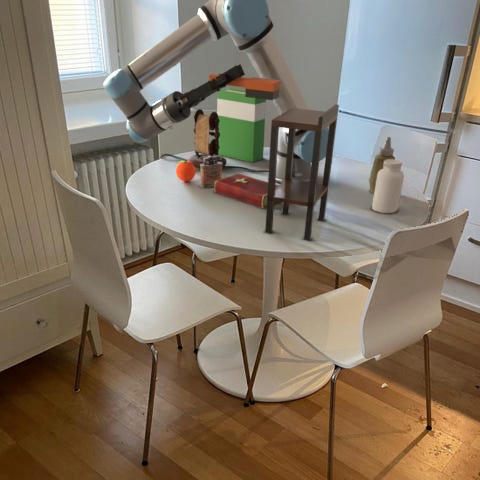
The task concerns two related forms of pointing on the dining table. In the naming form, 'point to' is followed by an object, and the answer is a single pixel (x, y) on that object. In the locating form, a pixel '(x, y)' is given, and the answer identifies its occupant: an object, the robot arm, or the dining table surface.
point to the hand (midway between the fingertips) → (240, 70)
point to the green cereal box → (240, 125)
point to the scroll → (205, 138)
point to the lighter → (210, 171)
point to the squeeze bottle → (380, 162)
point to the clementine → (185, 171)
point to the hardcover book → (244, 189)
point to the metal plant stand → (291, 188)
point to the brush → (256, 87)
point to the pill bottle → (388, 187)
